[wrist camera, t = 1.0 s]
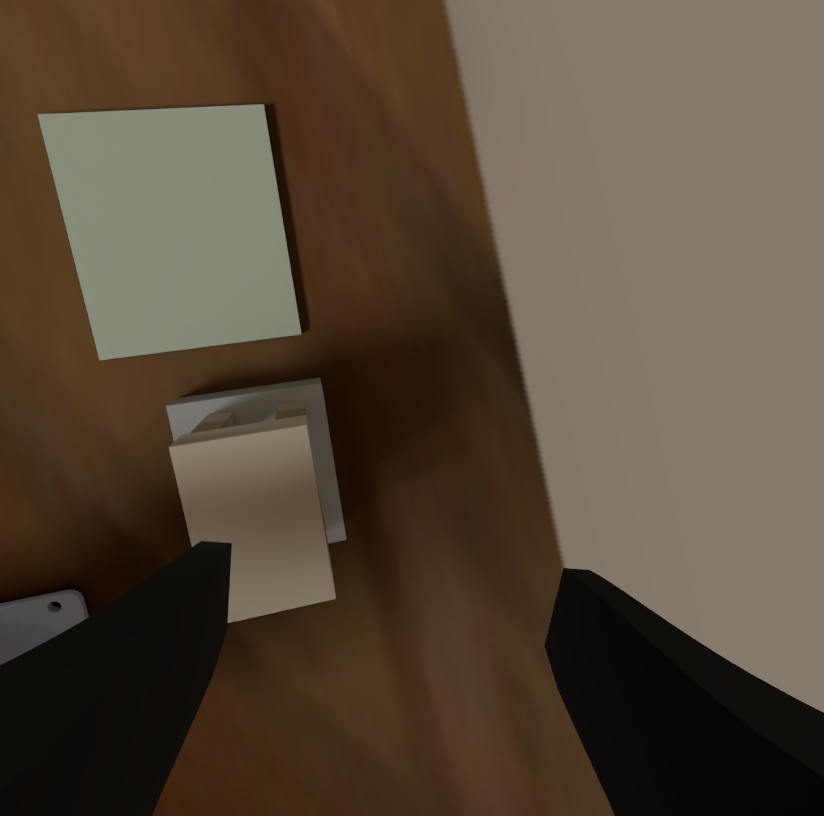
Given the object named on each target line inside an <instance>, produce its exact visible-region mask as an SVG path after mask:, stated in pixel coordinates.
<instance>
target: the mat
mask: <svg viewBox="0 0 824 816" xmlns="http://www.w3.org/2000/svg"><path fill="white" fill-rule="evenodd" d="M38 118H39V122H40V126H41V130H42V134H43V138H44V142H45V146H46V150H47V153H48V157H49V161H50V165H51V169H52V173H53V177H54V181H55V185H56V189H57V193H58V197H59V201H60V205H61V209H62V213H63V217H64V221H65V225H66V229H67V233H68V237H69V241H70V245H71V249H72V253H73V257H74V261H75V265H76V269H77V273H78V277H79V280H80V284H81V288H82V292H83V296H84V300H85V304H86V308H87V312H88V316H89V320H90V324H91V328H92V332H93V336H94V340H95V344H96V348H97V352H98V356H99V360H106V359H113V358H121V357H129V356H137V355H144V354H152V353H160V352H168V351H176V350H183V349H191V348H199V347H207V346H215V345H222V344H230V343H238V342H246V341H254V340H261V339H269V338H277V337H285V336H292V335H300V334H301V328H300V322H299V315H298V309H297V303H296V297H295V291H294V285H293V279H292V273H291V267H290V261H289V255H288V248H287V242H286V236H285V230H284V224H283V218H282V212H281V206H280V200H279V194H278V188H277V181H276V175H275V169H274V163H273V157H272V151H271V145H270V139H269V133H268V127H267V121H266V115H265V108H264V104H259V105H237V106H214V107H192V108H170V109H148V110H125V111H103V112H81V113H59V114H38Z"/></svg>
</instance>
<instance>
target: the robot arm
mask: <svg viewBox="0 0 824 816" xmlns="http://www.w3.org/2000/svg"><path fill="white" fill-rule="evenodd" d="M231 550H232V543H222V542H209V541H200V542H199V543H197V544H196V545H194V546H193V547H192V548H190V549H189V550H187V551H186V552H185V553H183V554H182V555H180V556H179V557H178V558H176V559H175V560H174V561H172V562H171V563H169V564H168V565H167V566H165V567H164V568H162V569H161V570H160V571H158V572H157V573H155V574H154V575H152V576H151V577H149V578H148V579H147V580H145V581H144V582H142V583H141V584H139V585H138V586H136V587H135V588H134V589H132V590H131V591H129V592H128V593H126V594H124V595H123V596H121V597H120V598H118V599H116V600H115V601H113V602H112V603H110V604H108V605H107V606H105V607H104V608H102V609H101V610H99V611H97V612H96V613H94V614H93V615H91V616H89V615H88V611H87V608H86V604H85V601H84V597H83V596H82V594H81V593H80V592H79V591H76V590H64V591H59V592H54V593H49V594H44V595H39V596H35V597H30V598H25V599H20V600H15V601H10V602H5V603H0V816H152V815H153V812H154V810H155V807H156V805H157V802H158V800H159V797H160V795H161V792H162V790H163V788H164V786H165V783H166V781H167V779H168V777H169V774H170V772H171V770H172V768H173V765H174V763H175V761H176V758H177V756H178V754H179V752H180V749H181V747H182V745H183V743H184V740H185V738H186V736H187V734H188V731H189V729H190V727H191V724H192V722H193V720H194V718H195V715H196V713H197V711H198V708H199V706H200V704H201V702H202V699H203V697H204V695H205V692H206V690H207V688H208V685H209V683H210V681H211V678H212V676H213V673H214V670H215V667H216V663H217V660H218V657H219V654H220V651H221V647H222V644H223V641H224V637H225V634H226V631H227V624H228V606H229V587H230V569H231ZM52 602H58V603H60V605H61V608H57V607H55V606H53V604H52ZM545 648H546V651H547V655H548V658H549V662H550V665H551V669H552V672H553V675H554V678H555V681H556V684H557V687H558V690H559V693H560V695H561V697H562V700H563V702H564V704H565V706H566V709H567V711H568V713H569V715H570V718H571V720H572V722H573V724H574V727H575V729H576V731H577V733H578V735H579V737H580V740H581V742H582V744H583V746H584V748H585V751H586V753H587V755H588V757H589V759H590V761H591V764H592V766H593V768H594V770H595V772H596V774H597V777H598V779H599V781H600V783H601V785H602V788H603V790H604V792H605V794H606V796H607V798H608V801H609V803H610V805H611V808H612V810H613V813H614V815H615V816H824V713H823V712H821V711H819V710H817V709H815V708H813V707H811V706H809V705H807V704H805V703H803V702H801V701H799V700H798V699H795V698H794V697H792V696H790V695H788V694H786V693H785V692H783V691H781V690H779V689H777V688H775V687H774V686H771V685H770V684H768V683H766V682H765V681H763V680H761V679H759V678H757V677H755V676H754V675H752V674H750V673H748V672H747V671H745V670H743V669H742V668H740V667H738V666H736V665H735V664H733V663H731V662H730V661H728V660H727V659H725V658H723V657H722V656H720V655H718V654H717V653H715V652H713V651H712V650H711V649H709V648H707V647H706V646H704V645H702V644H701V643H699V642H698V641H696V640H695V639H693V638H692V637H690V636H689V635H687V634H685V633H684V632H683V631H681V630H680V629H678V628H677V627H675V626H674V625H672V624H671V623H669V622H667V621H666V620H665V619H663V618H662V617H660V616H659V615H657V614H656V613H654V612H653V611H652V610H650V609H648V608H647V607H646V606H644V605H643V604H641V603H640V602H638V601H637V600H636V599H634V598H633V597H631V596H630V595H628V594H627V593H625V592H624V591H622V590H620V589H619V588H618V587H616V586H615V585H613V584H612V583H610V582H609V581H607V580H606V579H604V578H602V577H601V576H599V575H597V574H596V573H594V572H592V571H590V570H580V569H567V568H564V569H563V573H562V577H561V581H560V585H559V589H558V593H557V597H556V601H555V605H554V610H553V614H552V618H551V622H550V626H549V630H548V634H547V638H546V642H545Z"/></svg>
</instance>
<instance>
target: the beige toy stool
mask: <svg viewBox="0 0 824 816" xmlns="http://www.w3.org/2000/svg"><path fill="white" fill-rule="evenodd" d="M169 450H170V455H171V459H172V463H173V468H174V472H175V476H176V481H177V485H178V489H179V494H180V498H181V502H182V507H183V511H184V515H185V520H186V524H187V528H188V533H189V537H190V541H191V546H192V547H193V546H194V545H196V544H197V543H199V542H200V541H209V542H222V543H232V550H231V569H230V587H229V606H228V623H231V622H236V621H240V620H244V619H249V618H253V617H258V616H262V615H267V614H271V613H275V612H280V611H284V610H289V609H293V608H297V607H302V606H306V605H311V604H315V603H320V602H324V601H328V600H333V599H336V595H335V586H334V576H333V570H332V564H331V558H330V552H329V546H328V540H327V534H326V527H325V521H324V515H323V510H322V504H321V498H320V492H319V486H318V480H317V474H316V469H315V463H314V457H313V451H312V445H311V439H310V433H309V427H308V420H307V414H306V408H305V402H304V401H298V402H291V403H285V404H279V407H278V410H277V414H276V417H275V420H271V421H265V422H258V423H252V424H246V425H239V426H236V423H235V418H234V413H233V411H232V412H226V413H219V414H213V415H207V416H206V417H205V418H204V419H203V420H202V421H201V422H200V423H199V424H198V425H197V426H196V427H195V428H194V429H193V430H192V431H191V432H190V433H189V434H182V435H181V436H180V437H179V438H178V439H177V440H176V441H175V442H174V443H173V444H172V445H171V446H170V447H169Z"/></svg>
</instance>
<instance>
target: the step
mask: <svg viewBox="0 0 824 816" xmlns="http://www.w3.org/2000/svg"><path fill="white" fill-rule="evenodd" d="M298 401H304V402H305V408H306V414H307V420H308V427H309V433H310V439H311V445H312V451H313V457H314V463H315V469H316V474H317V480H318V486H319V492H320V498H321V504H322V510H323V515H324V521H325V527H326V534H327V540H328V544H329V543H334V542H339V541H343V540H346V533H345V527H344V521H343V515H342V508H341V502H340V496H339V489H338V483H337V477H336V471H335V464H334V458H333V452H332V445H331V439H330V433H329V427H328V420H327V414H326V408H325V401H324V395H323V389H322V383H321V379H320V377H319V378H312V379H305V380H298V381H291V382H284V383H277V384H270V385H264V386H257V387H250V388H243V389H236V390H229V391H222V392H215V393H208V394H201V395H194V396H188V397H181V398H178V399H176V400H175V401H173V402H172V403H170V404H168V405H167V406H166V408H167V413H168V417H169V421H170V426H171V430H172V435H173V439H174V442H175V441H176V440H177V439H178V438H179V437H180V436H181V435H182V434H189V433H190V432H191V431H192V430H193V429H194V428H195V427H196V426H197V425H198V424H199V423H200V422H201V421H202V420H203V419H204V418H205V417H206V416H207V415H213V414H219V413H226V412H232V411H233V413H234V418H235V423H236V426H239V425H246V424H252V423H258V422H265V421H271V420H275V417H276V414H277V410H278V407H279V404H285V403H291V402H298Z"/></svg>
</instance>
